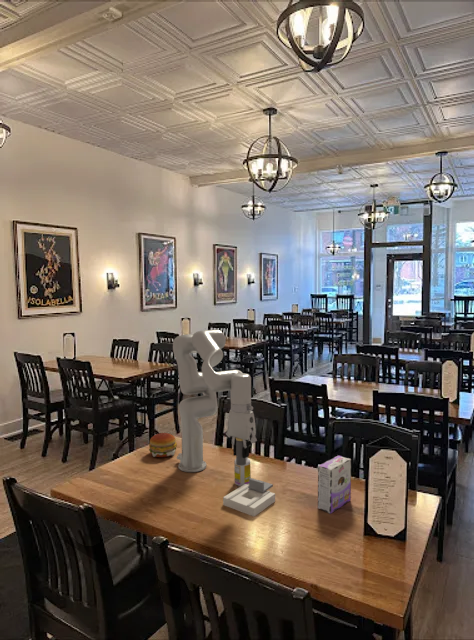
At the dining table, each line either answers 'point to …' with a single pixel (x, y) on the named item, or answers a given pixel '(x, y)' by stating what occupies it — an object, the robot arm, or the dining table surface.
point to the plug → (239, 452)
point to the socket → (248, 500)
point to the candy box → (334, 484)
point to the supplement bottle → (242, 473)
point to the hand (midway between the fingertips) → (241, 455)
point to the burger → (162, 445)
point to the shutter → (259, 485)
